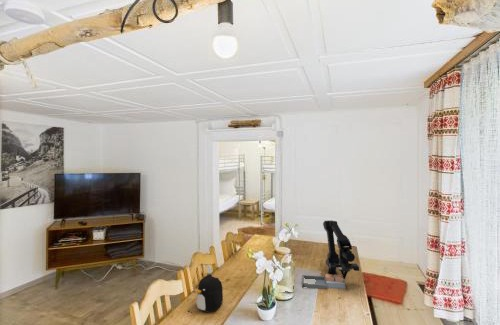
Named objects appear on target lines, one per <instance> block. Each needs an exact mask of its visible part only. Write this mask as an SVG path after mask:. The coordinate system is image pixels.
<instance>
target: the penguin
mask: <svg viewBox="0 0 500 325" xmlns="http://www.w3.org/2000/svg"><path fill="white" fill-rule="evenodd" d="M223 294H224V293H223V283H222V281H221V280H220V279H219V277H215V276H213V274H208V275H206V276H204V277H202V279H200V280H199V282H198V287H197V297H196V300H195V301H196V302H195V303H196V307H197V308H198V309H199V310H201V311H202V310H205V311H209V312H213V311H212V310H214V311H216V310H217V309H219V308H220V306H221V305H222V303H223V300H224V298H223V297H224V296H223ZM215 309H216V310H215ZM205 311H204V312H205Z"/></svg>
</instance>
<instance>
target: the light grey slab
mask: <svg viewBox="0 0 500 325" xmlns="http://www.w3.org/2000/svg"><path fill="white" fill-rule="evenodd" d="M325 282H326V285H327V289H337V290H346V283H345V279H343V282H336V281H335V279H334V281H326V277H325Z"/></svg>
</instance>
